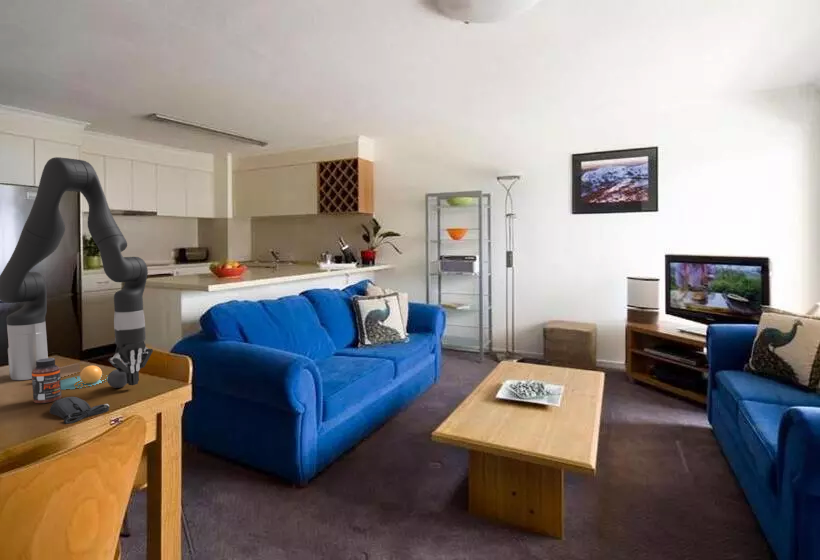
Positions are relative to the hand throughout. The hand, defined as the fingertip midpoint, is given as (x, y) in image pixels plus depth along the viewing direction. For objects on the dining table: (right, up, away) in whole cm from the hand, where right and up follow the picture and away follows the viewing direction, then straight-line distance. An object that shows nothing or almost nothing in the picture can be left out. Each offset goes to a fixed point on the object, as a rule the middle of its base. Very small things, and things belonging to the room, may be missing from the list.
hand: (132, 384), depth 129 cm
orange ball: (-16, +2, +5) cm, 17 cm away
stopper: (-30, 0, +11) cm, 32 cm away
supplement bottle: (-18, -2, -9) cm, 20 cm away
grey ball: (-5, +1, +2) cm, 6 cm away
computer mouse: (-4, -4, -17) cm, 18 cm away
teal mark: (-20, -1, +7) cm, 21 cm away
